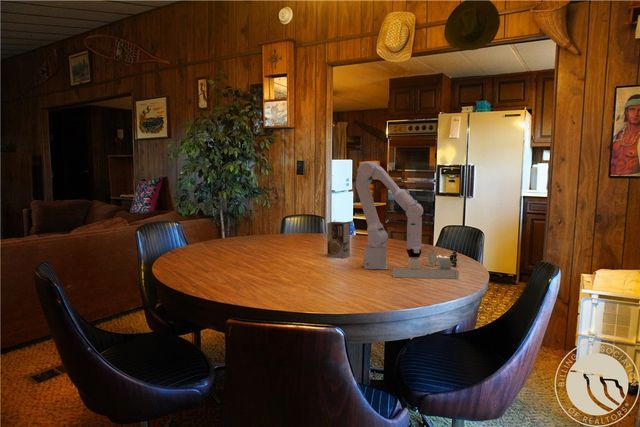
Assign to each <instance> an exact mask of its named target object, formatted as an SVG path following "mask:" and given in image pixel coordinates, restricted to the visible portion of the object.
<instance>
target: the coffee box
mask: <svg viewBox="0 0 640 427" xmlns="http://www.w3.org/2000/svg"><path fill="white" fill-rule="evenodd" d="M326 224H327V225H326V228H327V229H326V230H327V231H326V236H327V240H326V241H327V242H326V243H327V245H326V246H327V247H326V248H327V257H329V258H337V259H338V258H340V259H346V258H348V257H350V255H351V253H350V251H351V250H350V249H351V247H350V246H351V245H350V244H351V243H350V242H351V241H350V239H351V238H350V237H351V234H350V232H351V222H347V221H346V222H344V221H330V222H327V223H326Z"/></svg>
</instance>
